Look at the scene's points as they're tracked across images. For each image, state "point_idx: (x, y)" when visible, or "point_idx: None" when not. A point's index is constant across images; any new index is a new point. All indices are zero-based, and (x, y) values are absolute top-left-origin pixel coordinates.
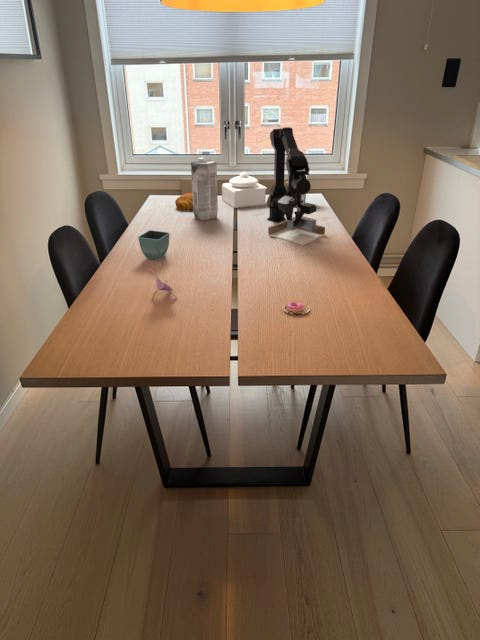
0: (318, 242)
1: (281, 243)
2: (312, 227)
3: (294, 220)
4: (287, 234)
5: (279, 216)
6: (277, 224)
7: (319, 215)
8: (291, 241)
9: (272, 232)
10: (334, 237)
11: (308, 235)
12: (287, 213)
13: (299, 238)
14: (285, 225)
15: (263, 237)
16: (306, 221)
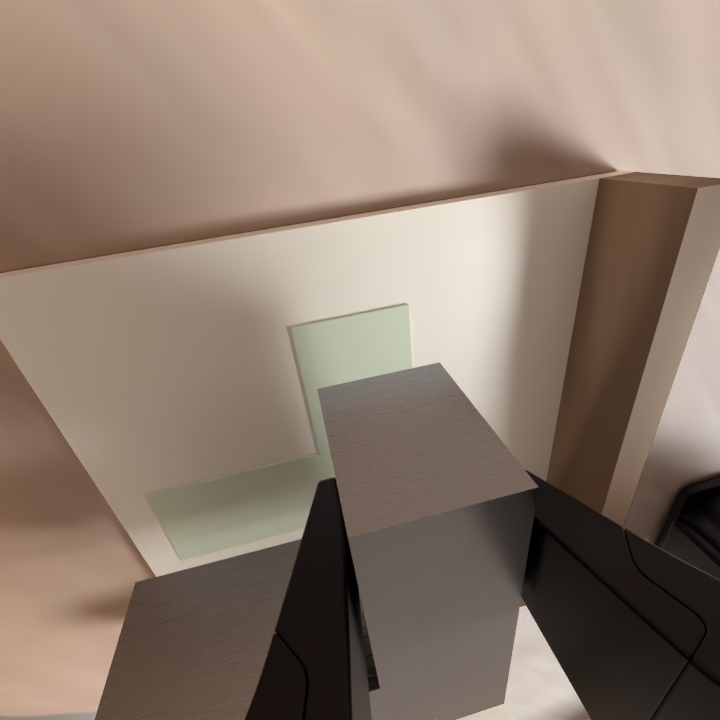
0: (9, 495)
1: (247, 32)
2: (129, 643)
3: (365, 578)
4: (428, 361)
5: (718, 541)
6: (655, 382)
7: (510, 702)
8: (211, 238)
9: (604, 231)
10: (92, 651)
11: (239, 513)
12: (703, 672)
13: (217, 386)
14: (575, 472)
15: (639, 31)
16: (230, 698)
